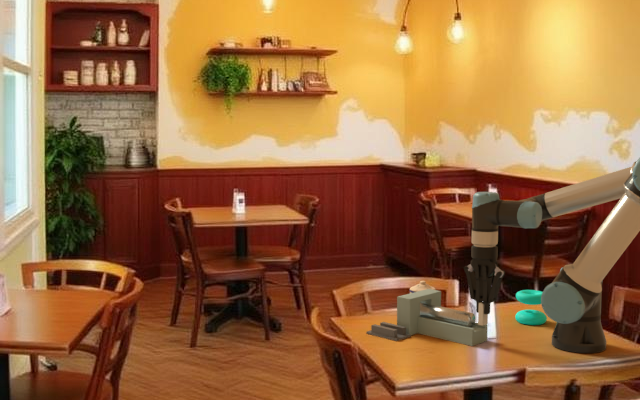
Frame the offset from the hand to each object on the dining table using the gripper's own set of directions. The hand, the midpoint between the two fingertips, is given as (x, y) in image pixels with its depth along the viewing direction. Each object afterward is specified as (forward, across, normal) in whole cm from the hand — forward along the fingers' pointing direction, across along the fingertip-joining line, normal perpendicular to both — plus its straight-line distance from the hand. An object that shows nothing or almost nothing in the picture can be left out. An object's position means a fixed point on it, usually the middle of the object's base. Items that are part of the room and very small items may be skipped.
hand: (482, 324), depth 224 cm
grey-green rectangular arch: (+6, +23, 0) cm, 24 cm away
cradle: (+6, +26, +12) cm, 29 cm away
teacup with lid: (+6, +35, -17) cm, 39 cm away
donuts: (+6, +3, -33) cm, 34 cm away
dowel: (+2, +14, 0) cm, 15 cm away
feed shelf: (+6, +11, 0) cm, 12 cm away
